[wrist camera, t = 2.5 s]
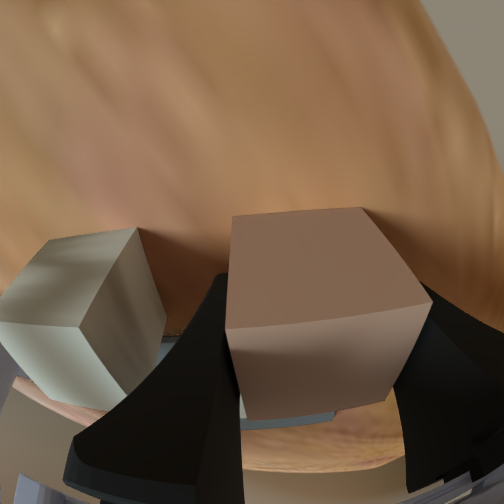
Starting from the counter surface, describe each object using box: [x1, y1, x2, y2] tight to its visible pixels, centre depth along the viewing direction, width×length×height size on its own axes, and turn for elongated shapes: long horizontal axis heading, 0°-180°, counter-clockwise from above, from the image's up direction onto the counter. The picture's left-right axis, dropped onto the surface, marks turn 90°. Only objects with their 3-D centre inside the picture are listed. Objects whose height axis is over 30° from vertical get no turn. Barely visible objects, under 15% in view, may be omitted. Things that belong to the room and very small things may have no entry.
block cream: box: [0, 227, 167, 411], centre depth 9 cm, size 4×4×5 cm
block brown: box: [225, 207, 433, 421], centre depth 9 cm, size 4×4×5 cm
